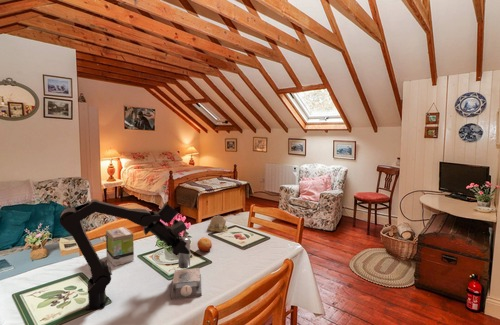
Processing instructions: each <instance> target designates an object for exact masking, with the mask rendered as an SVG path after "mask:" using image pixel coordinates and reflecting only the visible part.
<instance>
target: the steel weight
mask: <svg viewBox="0 0 500 325" xmlns="http://www.w3.org/2000/svg"><path fill="white" fill-rule="evenodd" d="M179 238H182V239H183V240H184V241H185V242H186V243H187V244H186V246H185V247H186V248H187V249H188V250H189V252H190V253H189V254H183V253H179V254H178V255H177V256H178V268H179V269H181V270H183V269H189V268H190V266H191V238H190V236H181V237H180V236H179Z"/></svg>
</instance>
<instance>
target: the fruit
mask: <svg viewBox="0 0 500 325" xmlns="http://www.w3.org/2000/svg"><path fill="white" fill-rule="evenodd" d="M212 245H213V243H212V240H210V238H208V237H201V238H200V239H199V240H198V241H197V251H198V250H199V251H200V252H202V253H206V252H207V251H210V250H211V249H212V247H213V246H212Z"/></svg>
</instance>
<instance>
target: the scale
mask: <svg viewBox="0 0 500 325" xmlns="http://www.w3.org/2000/svg"><path fill="white" fill-rule="evenodd" d="M192 297H202V275H201V273H200V286H198V287H196V282H189V283H179V284H176V289H173V284H172V287H171V293H170V299H171V300H174V299H175V300H176V299H183V298H184V299H185V298H192Z"/></svg>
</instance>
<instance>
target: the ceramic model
mask: <svg viewBox="0 0 500 325" xmlns="http://www.w3.org/2000/svg"><path fill="white" fill-rule="evenodd" d="M226 223H227V219H226V218H225V217H224V216H221V215H220V214H218V215H216V216H213V217H211V218H210V223H209V224H208V226H207V230H208V231H212V232H221V233H222V232H227V231H228V230H229V229H228V226H227V224H226Z"/></svg>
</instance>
